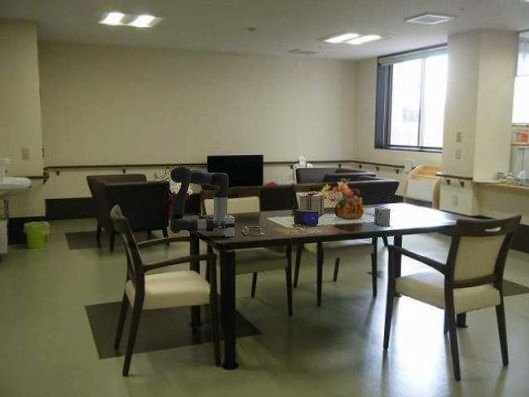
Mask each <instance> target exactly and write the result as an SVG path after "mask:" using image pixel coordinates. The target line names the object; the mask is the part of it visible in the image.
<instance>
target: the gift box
mask: <svg viewBox="0 0 529 397" xmlns="http://www.w3.org/2000/svg"><path fill="white" fill-rule="evenodd" d="M325 196H326V195H325V194H324V193H319V192H317V191H315V190H313V191H308V192H306V193H302V194H300V195H298V198H299V210H307V211H318V212H319V217H320V216H322V215H324V214H325V198H326V197H325Z"/></svg>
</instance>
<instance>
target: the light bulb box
mask: <svg viewBox="0 0 529 397" xmlns="http://www.w3.org/2000/svg"><path fill="white" fill-rule="evenodd" d="M373 223H375V224H377V225H380V226H390V225H391V224H390V223H391V208H388V207H385V206H375V207H374V220H373Z"/></svg>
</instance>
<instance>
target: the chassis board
mask: <svg viewBox="0 0 529 397" xmlns="http://www.w3.org/2000/svg"><path fill="white" fill-rule="evenodd" d="M241 233H243V234H244V235H245V237H249V236H250V237H252V236H254V237H256V236H265V233H264V232H263V231H262V228H261V226H260V225H258V226H257V225H256V226H254V225H253V226H244V230H241Z"/></svg>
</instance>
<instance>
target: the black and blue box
mask: <svg viewBox="0 0 529 397" xmlns="http://www.w3.org/2000/svg"><path fill="white" fill-rule="evenodd" d="M319 218H320V216H319V212H318V211H307V210H300V209H296V210H294V211H293V223H294V224H295V225H298V224H301V225H300V226H317V225H318V224H319Z"/></svg>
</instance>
